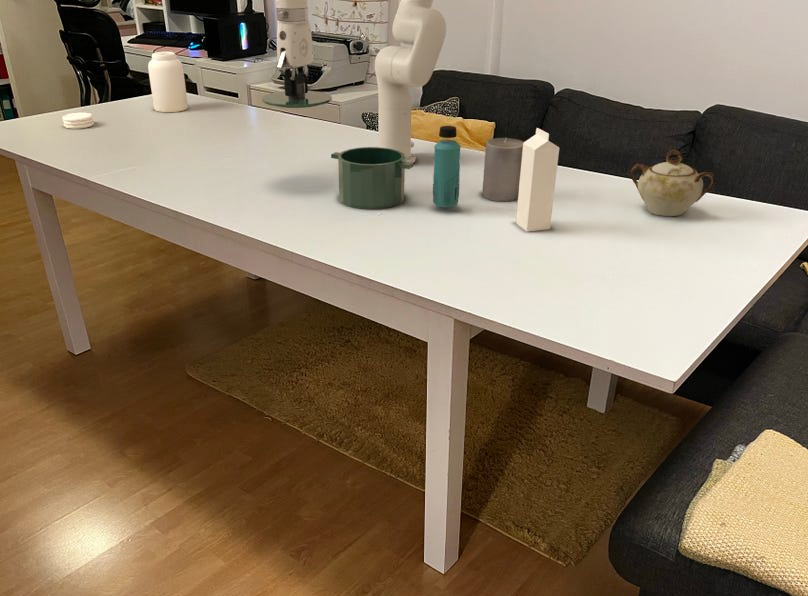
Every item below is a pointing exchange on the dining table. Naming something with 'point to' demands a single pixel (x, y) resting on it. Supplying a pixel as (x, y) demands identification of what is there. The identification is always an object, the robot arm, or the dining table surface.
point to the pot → (371, 177)
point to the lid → (297, 98)
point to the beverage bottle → (446, 169)
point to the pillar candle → (502, 169)
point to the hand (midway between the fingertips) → (296, 93)
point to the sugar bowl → (670, 186)
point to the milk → (537, 182)
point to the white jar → (167, 82)
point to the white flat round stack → (78, 120)
